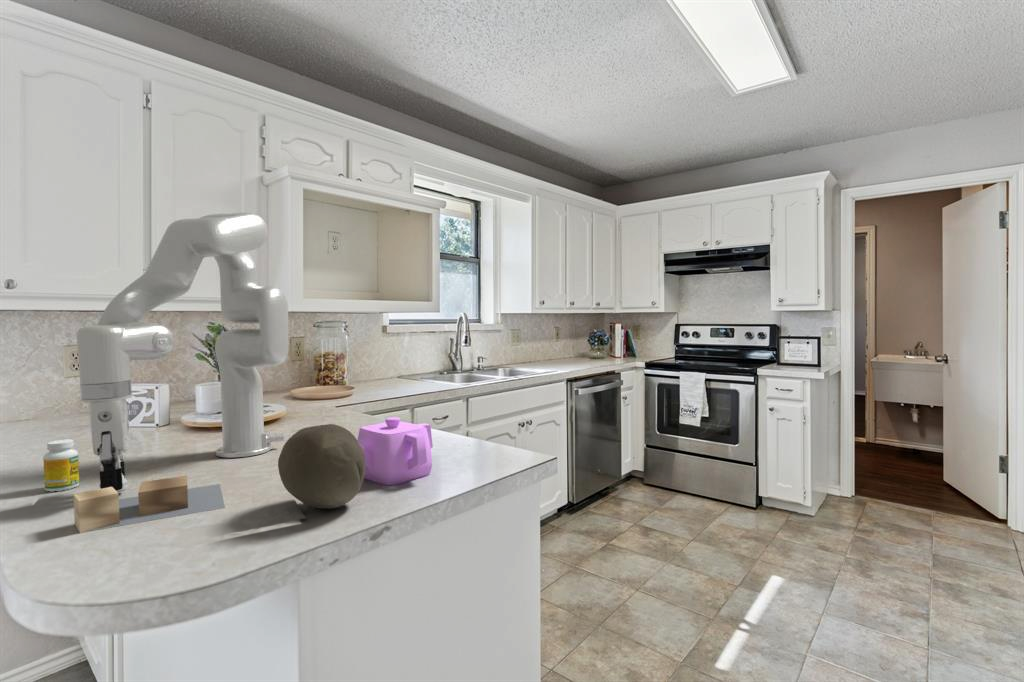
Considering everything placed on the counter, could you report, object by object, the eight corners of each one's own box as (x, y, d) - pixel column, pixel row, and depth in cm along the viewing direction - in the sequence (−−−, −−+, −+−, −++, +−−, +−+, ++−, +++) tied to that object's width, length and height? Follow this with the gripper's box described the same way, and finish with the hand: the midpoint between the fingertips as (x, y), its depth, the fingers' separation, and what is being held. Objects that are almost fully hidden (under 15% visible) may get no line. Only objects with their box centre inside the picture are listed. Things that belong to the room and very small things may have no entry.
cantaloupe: (344, 490, 103) (342, 414, 102) (379, 508, 92) (378, 424, 92) (269, 508, 93) (266, 425, 92) (299, 531, 83) (297, 437, 82)
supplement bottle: (50, 486, 107) (48, 440, 107) (83, 482, 109) (81, 437, 109) (40, 494, 102) (38, 445, 102) (75, 490, 105) (73, 442, 104)
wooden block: (187, 496, 97) (187, 475, 97) (188, 507, 91) (187, 485, 91) (141, 503, 94) (141, 482, 94) (139, 516, 88) (138, 492, 88)
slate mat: (219, 487, 105) (219, 483, 105) (225, 512, 91) (225, 507, 91) (93, 507, 94) (93, 503, 94) (78, 538, 81) (78, 533, 81)
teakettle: (428, 485, 106) (427, 424, 105) (343, 487, 105) (342, 426, 104) (436, 462, 123) (435, 410, 122) (363, 464, 122) (362, 411, 121)
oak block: (113, 515, 88) (111, 486, 88) (119, 523, 85) (118, 493, 84) (74, 524, 84) (73, 494, 84) (80, 532, 81) (78, 501, 81)
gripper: (127, 395, 92) (134, 496, 94) (134, 383, 107) (140, 471, 108) (72, 400, 88) (80, 505, 90) (88, 387, 103) (94, 478, 104)
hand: (113, 485), depth 99 cm, fingers closed on rook chess piece, 4 cm apart
